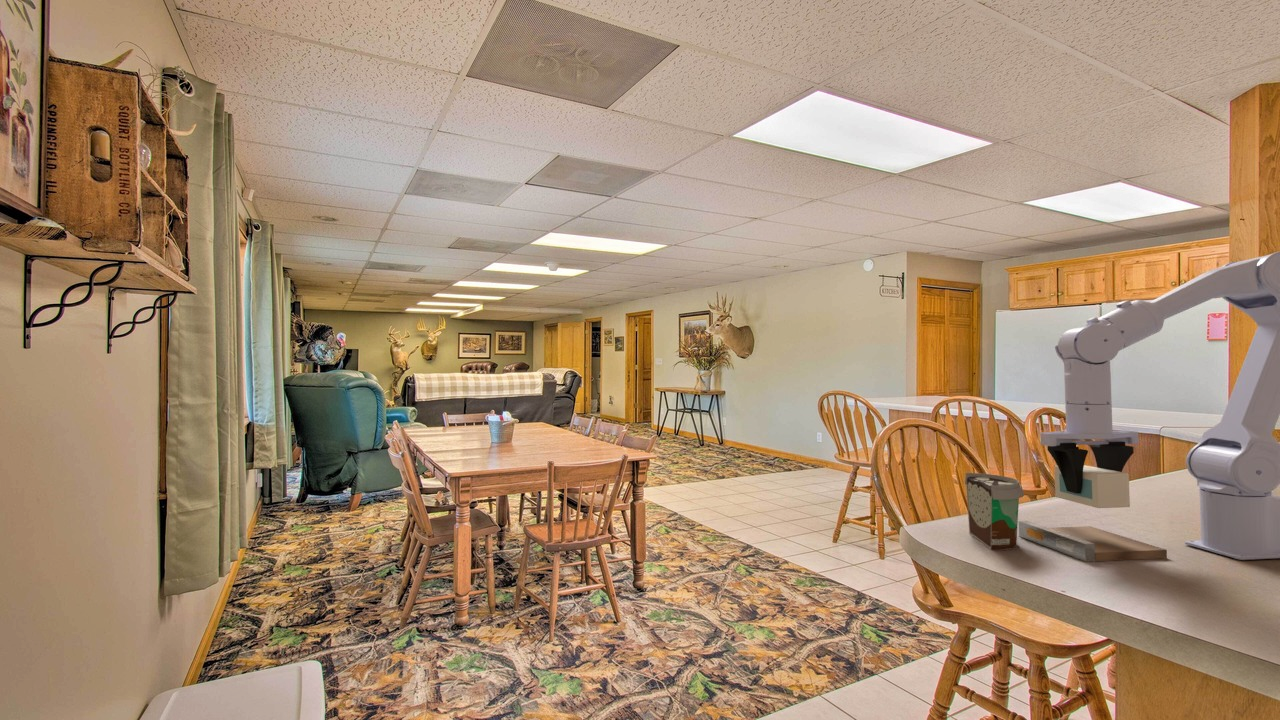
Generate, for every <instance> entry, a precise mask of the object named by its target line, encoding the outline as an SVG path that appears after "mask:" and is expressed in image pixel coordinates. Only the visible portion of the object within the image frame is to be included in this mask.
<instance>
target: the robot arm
mask: <svg viewBox="0 0 1280 720" xmlns="http://www.w3.org/2000/svg"><path fill="white" fill-rule="evenodd" d="M1220 298H1222V299H1223V300H1224V301H1226V302H1227V303H1229V304H1231V305H1232V306H1233V307H1234V308H1237V309H1238V310H1240V311H1241V312H1243V313H1244V314H1245V315H1247V316H1249V317H1250V318H1251V319H1252V320H1253V322H1255V324H1256V325H1257V327H1256V330H1255V333H1254V335H1253V338H1252V340H1251V342H1250V345H1249V346H1248V347H1249V348H1248V350H1247V353H1246V356H1245V358H1244V361H1243V362H1242V366H1241V368H1240V371H1239V374H1238V376H1237V378H1236V381H1235V384H1234V386H1233V389H1232V391H1231V394H1230V397H1229V399H1228V401H1227V404H1226V406H1225V410H1224V411H1223V415H1222V417H1221V419H1220V422H1218V423H1217V424H1215V425H1214V426H1212V427H1211V428H1209V429H1207V430H1206V431H1204V432H1203V433H1202V436H1201V438H1200V440H1199V442H1198V443H1197V444H1196V445H1194V446H1193V447H1192V448H1191V449H1190V450H1189V451H1188V453H1187V455H1186V457H1185V464H1186V465H1185V466H1186V469H1187V471H1188V472H1189V473H1190V475H1191V477H1193V478H1194V479H1196V484H1197V485H1196V486H1197V487H1198V488H1199V489H1198V490H1199V491H1198V493H1199V518H1200V520H1199V521H1200V539H1199V540H1185V541H1184V544H1185V545H1186V546H1187V545H1188V546H1191V547H1195V548H1198V549H1202V550H1205V551H1207V552H1208V551H1209V552H1212V553H1215V554H1219V555H1222V556H1226V557H1229V558H1233V559H1235V560H1242V561H1245V560H1265V559H1266V560H1267V559H1268V560H1269V559H1280V496H1278V495H1277V494H1275V493H1273V492H1272V491H1274V490H1275V489H1277V487H1279V486H1280V442H1279V441H1278V440H1277V439H1276V437H1275V435H1273V433H1274V431H1275V427H1276V426H1277V423H1278V419H1279V416H1280V251H1276V252H1273V253H1270V254H1267V255H1263V256H1258V257H1254V258H1250V259H1249V258H1248V259H1245V260H1239V261H1231V262H1228V263H1226V264H1224V265H1222V266H1221V267H1219V266H1218V267H1216V268H1213V269H1209V270H1208V271H1206V272H1205V271H1204V273H1201V274H1199V275H1198V276H1196V277H1193V278H1192V279H1191V280H1190V279H1189V281H1186V282H1185V283H1183V284H1181V285H1179V286H1177V287H1175V288H1174V289H1171V290H1169V291H1167V292H1166V293H1164V294H1162V295H1160V296H1159V297H1157V298H1155V299H1153V300H1151V301H1146V300H1140V299H1135V300H1132V301H1130V300H1128V299H1127V300H1122V301H1120V302H1118V303H1117V304H1115V307H1116V309H1114V310H1112V311H1109V312H1108V313H1105V314H1104V315H1102V316H1100V317H1095V316H1094V317H1091V318H1089V319H1088V318H1087V320H1086V325H1085V326H1082V327H1081V326H1080V327H1075V328H1070V329H1068V330H1066V331H1065V332H1063V334H1061V337H1059V339H1058V343H1057V345H1054V349H1055V353H1056V354H1057V356H1058V357H1059V358H1060V360H1061V361H1062V362H1063V367H1064V369H1063V370H1064V371H1063V373H1064V375H1063V377H1064V403H1065V405H1064V406H1065V429H1063V430H1061V431H1060V430H1059V431H1049V432H1047V431H1046V432H1045V431H1044V432H1040V435H1039V437H1040V445H1041V446H1046V448H1047V451H1048V453H1049V454H1050V455H1051V457H1052V458H1053V460H1054V461H1055V464H1056V466H1058V468H1059V470H1060V472H1061V475H1062V477H1063V480H1064V483H1065V487H1066V490H1067V491H1069V492H1073V493H1077V494H1078V493H1081V492H1082V486H1083V467H1084V465H1085V463H1086V459H1087V455H1088V453H1089V450H1087V449H1082V448H1080V447H1079V446H1080V445H1084V446H1085V445H1089V446H1090V448H1091V449H1092V450H1091V451H1092V453H1093V456H1094V459H1095V463H1096V466H1097V468H1103V469H1108V470H1113V471H1119V472H1123V470H1124V468H1125V466H1126V464H1127V462H1128V461H1129V459H1130V458H1131V456H1133V454H1134V452H1135V451H1134V449H1135V448H1134V446H1131V445H1139V431H1136V430H1114V429H1113V409H1112V408H1113V407H1112V405H1113V404H1112V402H1113V401H1112V377H1111V375H1112V374H1111V361H1112V360H1114V359H1115V358H1116V356H1117V355H1118V353H1119V351H1122V350H1124V349H1126V348H1129V347H1130V346H1132V345H1135V344H1136V343H1139V342H1140V341H1143V340H1144V339H1146V338H1149V337H1151V336H1153V335H1155V334H1157V333H1160V331H1161V330H1162V328H1163V326H1164V324H1165V323H1164V322H1165V320H1167V319H1169V318H1171V317H1174V316H1176V315H1178V314H1180V313H1183V312H1185V311H1187V310H1190V309H1192V308H1194V307H1196V306H1197V307H1198V305H1201V304H1203V303H1206V302H1208V301H1211V300H1212V299H1220ZM1127 444H1129V445H1127Z"/></svg>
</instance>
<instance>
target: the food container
mask: <svg viewBox="0 0 1280 720" xmlns="http://www.w3.org/2000/svg"><path fill="white" fill-rule="evenodd" d="M964 485H965V486H966V487H965V488H966V500H967V517H968V529H969V530H968V533H969V534H970V535H971V536H972V537H974V538H975V539H976V540H978V541H979V543H980V542H981V543H982V544H983V545H984V546H985V547H987V548H988V549H990V550H991V551H1003V550H1010V549H1014V548H1015V547H1017V544H1018V541H1017V540H1018V525H1019V521H1018V520H1019V504H1020V503H1019V501H1020V499H1021V498H1023V497H1024V496H1025V494H1024V490H1023V487H1022V484H1020V481H1019V480H1018V479H1016V478H1014V477H1009V476H1004V475H999V474H991V473H982V472H981V473H980V472H965V477H964Z"/></svg>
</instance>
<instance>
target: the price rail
mask: <svg viewBox="0 0 1280 720" xmlns="http://www.w3.org/2000/svg"><path fill="white" fill-rule="evenodd" d="M1050 528H1051V527H1046V526H1045V525H1040V524H1037V523H1035V522H1033V521H1029V520H1019V521H1018V536H1019V537H1020V538H1022V539H1026V540H1029V541H1031V542H1033V543H1035V544H1039V545H1041V546H1044V547H1047V548H1048V549H1052V550H1054V551H1057V552H1059V553H1062V554H1063V555H1064V554H1065V555H1066V556H1067V555H1068V556H1070V557H1073V558H1075V559H1078V560H1081V561H1083V562H1086V563H1087V562H1096V561H1095V553H1094V543H1091V542H1088V541H1085V540H1082V539H1079V538H1076V537H1073V536H1070V535H1068V534H1065V533H1062V532H1059V531H1056V530H1053V529H1050Z"/></svg>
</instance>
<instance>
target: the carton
mask: <svg viewBox="0 0 1280 720" xmlns="http://www.w3.org/2000/svg"><path fill="white" fill-rule="evenodd" d="M1053 467H1054V468H1053V469H1054V492H1055V493H1054V494H1055V498H1057V499H1061V500H1066V501H1070V502H1074V503H1076V504H1081V505H1084V506H1088V507H1093V508H1096V509H1113V508H1114V509H1115V508H1116V509H1117V508H1130V507H1131V500H1130V498H1131V497H1130V476H1129V475H1130V474H1129V473H1128V472H1124V471H1122V472H1119V471H1113V470H1108V469H1103V468H1097V467H1095V466H1091V465H1086V464H1084V467H1083V486H1082V492H1081V493H1078V494H1077V493H1073V492H1069V491H1067V490H1066V487H1065V483H1064V480H1063V477H1062V475H1061V472H1060V470H1059V468H1058V466H1057V465H1054V466H1053Z"/></svg>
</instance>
